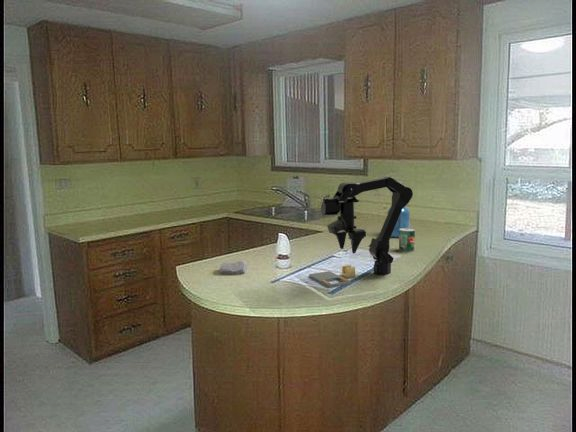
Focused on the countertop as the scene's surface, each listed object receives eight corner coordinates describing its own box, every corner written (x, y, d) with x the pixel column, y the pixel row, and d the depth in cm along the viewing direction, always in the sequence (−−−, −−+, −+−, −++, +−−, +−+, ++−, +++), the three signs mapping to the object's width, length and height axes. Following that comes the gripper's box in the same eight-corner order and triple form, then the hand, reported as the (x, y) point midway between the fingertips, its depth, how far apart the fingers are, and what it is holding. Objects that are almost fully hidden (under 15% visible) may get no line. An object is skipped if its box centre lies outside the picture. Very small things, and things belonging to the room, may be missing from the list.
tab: (350, 275, 201) (350, 272, 201) (359, 279, 195) (359, 277, 194) (337, 277, 198) (337, 274, 198) (346, 281, 192) (346, 279, 192)
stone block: (246, 278, 206) (247, 268, 215) (245, 268, 204) (246, 258, 214) (219, 280, 206) (221, 269, 215) (218, 270, 204) (220, 260, 213)
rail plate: (329, 275, 201) (329, 270, 200) (350, 286, 186) (350, 281, 185) (308, 278, 197) (308, 273, 196) (328, 290, 181) (328, 284, 181)
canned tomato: (414, 252, 240) (415, 231, 238) (399, 251, 241) (399, 230, 239) (414, 248, 247) (414, 228, 245) (398, 248, 249) (399, 227, 247)
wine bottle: (412, 238, 274) (413, 186, 269) (389, 238, 274) (389, 186, 269) (406, 233, 287) (407, 184, 283) (384, 233, 288) (385, 184, 283)
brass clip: (350, 274, 199) (350, 264, 198) (355, 276, 195) (355, 267, 195) (341, 275, 197) (341, 266, 197) (346, 277, 194) (346, 268, 193)
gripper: (318, 212, 197) (319, 249, 199) (342, 218, 180) (343, 258, 183) (341, 210, 201) (342, 245, 204) (366, 215, 185) (367, 254, 187)
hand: (347, 250), depth 194 cm, fingers open, 9 cm apart
